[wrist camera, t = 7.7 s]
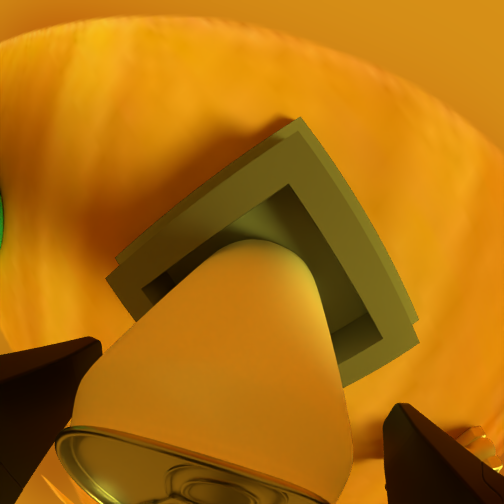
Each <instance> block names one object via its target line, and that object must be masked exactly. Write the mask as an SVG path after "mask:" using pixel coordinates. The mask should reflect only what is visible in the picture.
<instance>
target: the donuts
mask: <svg viewBox="0 0 504 504" xmlns="http://www.w3.org/2000/svg"><path fill="white" fill-rule="evenodd" d="M2 238H3V207H2V200H1V195H0V248H1V244H2Z"/></svg>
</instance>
